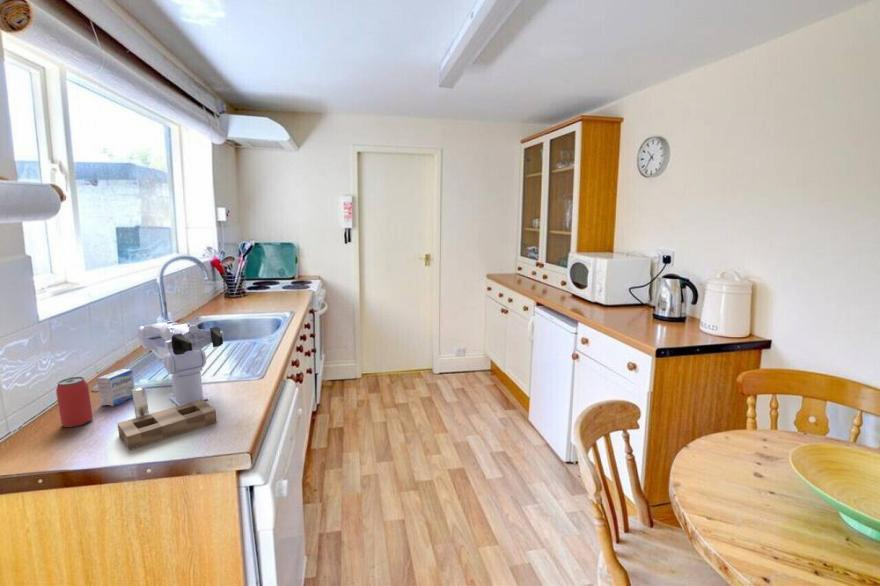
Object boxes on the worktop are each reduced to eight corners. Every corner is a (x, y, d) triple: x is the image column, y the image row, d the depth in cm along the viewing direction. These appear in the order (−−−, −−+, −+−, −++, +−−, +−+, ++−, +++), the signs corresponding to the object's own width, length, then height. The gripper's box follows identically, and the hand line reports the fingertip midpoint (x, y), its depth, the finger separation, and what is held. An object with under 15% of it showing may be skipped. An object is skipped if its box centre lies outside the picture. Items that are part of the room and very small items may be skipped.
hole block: (119, 436, 114) (117, 423, 113) (203, 410, 128) (201, 399, 127) (129, 450, 107) (127, 436, 106) (216, 422, 121) (215, 410, 121)
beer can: (86, 415, 126) (80, 374, 123) (97, 420, 122) (91, 378, 120) (57, 424, 120) (50, 382, 118) (68, 430, 117) (61, 387, 115)
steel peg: (135, 424, 120) (130, 389, 118) (148, 420, 122) (143, 385, 120) (138, 428, 118) (133, 392, 116) (151, 424, 120) (147, 388, 118)
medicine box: (113, 406, 131) (109, 378, 129) (100, 405, 132) (96, 377, 130) (136, 396, 138) (132, 369, 137) (124, 394, 139) (120, 368, 138)
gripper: (158, 328, 122) (173, 334, 113) (214, 319, 133) (232, 323, 123) (162, 354, 123) (177, 361, 114) (217, 342, 134) (235, 348, 124)
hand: (206, 343), depth 119 cm, fingers open, 7 cm apart
